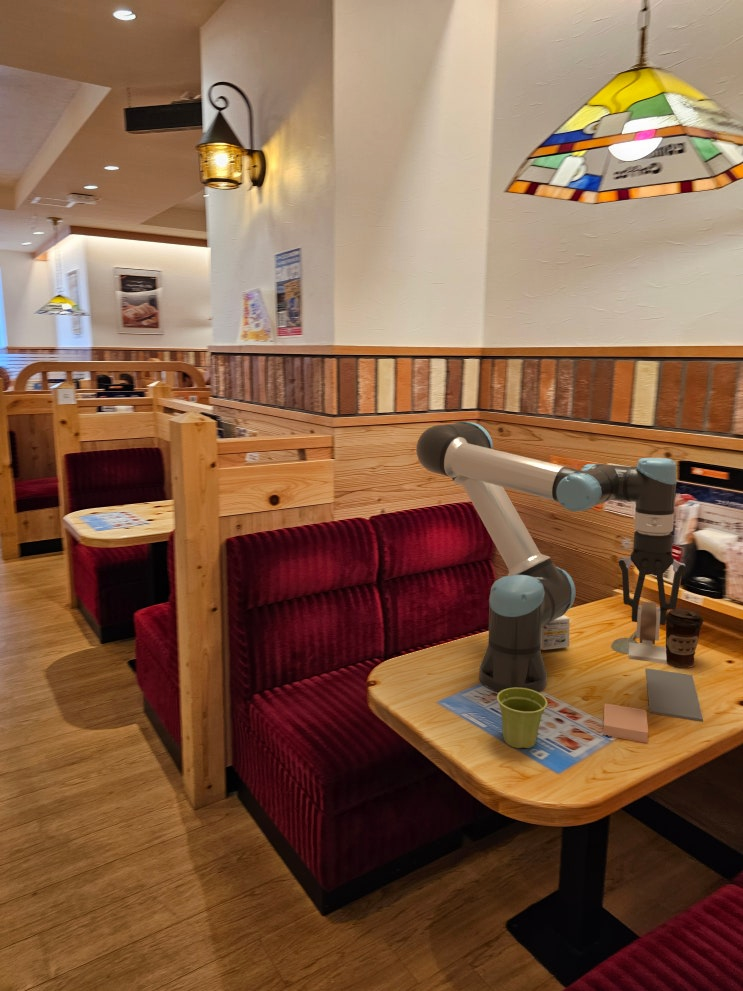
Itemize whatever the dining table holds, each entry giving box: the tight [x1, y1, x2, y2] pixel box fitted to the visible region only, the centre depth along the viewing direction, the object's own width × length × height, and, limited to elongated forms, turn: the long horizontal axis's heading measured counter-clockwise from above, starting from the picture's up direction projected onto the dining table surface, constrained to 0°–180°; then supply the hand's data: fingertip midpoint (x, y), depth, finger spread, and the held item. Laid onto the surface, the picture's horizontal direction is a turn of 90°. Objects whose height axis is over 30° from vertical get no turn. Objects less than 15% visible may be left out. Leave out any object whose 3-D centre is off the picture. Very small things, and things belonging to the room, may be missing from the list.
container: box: [540, 614, 570, 651], centre depth 171 cm, size 8×8×13 cm
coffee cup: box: [665, 607, 704, 668], centre depth 161 cm, size 9×8×13 cm
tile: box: [602, 703, 649, 744], centre depth 133 cm, size 8×2×9 cm
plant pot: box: [496, 688, 548, 749], centre depth 128 cm, size 9×9×9 cm
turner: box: [628, 601, 667, 665], centre depth 142 cm, size 7×20×6 cm, turn 158°
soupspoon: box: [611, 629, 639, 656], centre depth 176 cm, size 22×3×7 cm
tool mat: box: [645, 667, 704, 722], centre depth 147 cm, size 10×21×1 cm, turn 160°
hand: (647, 636), depth 145 cm, fingers closed on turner, 3 cm apart
